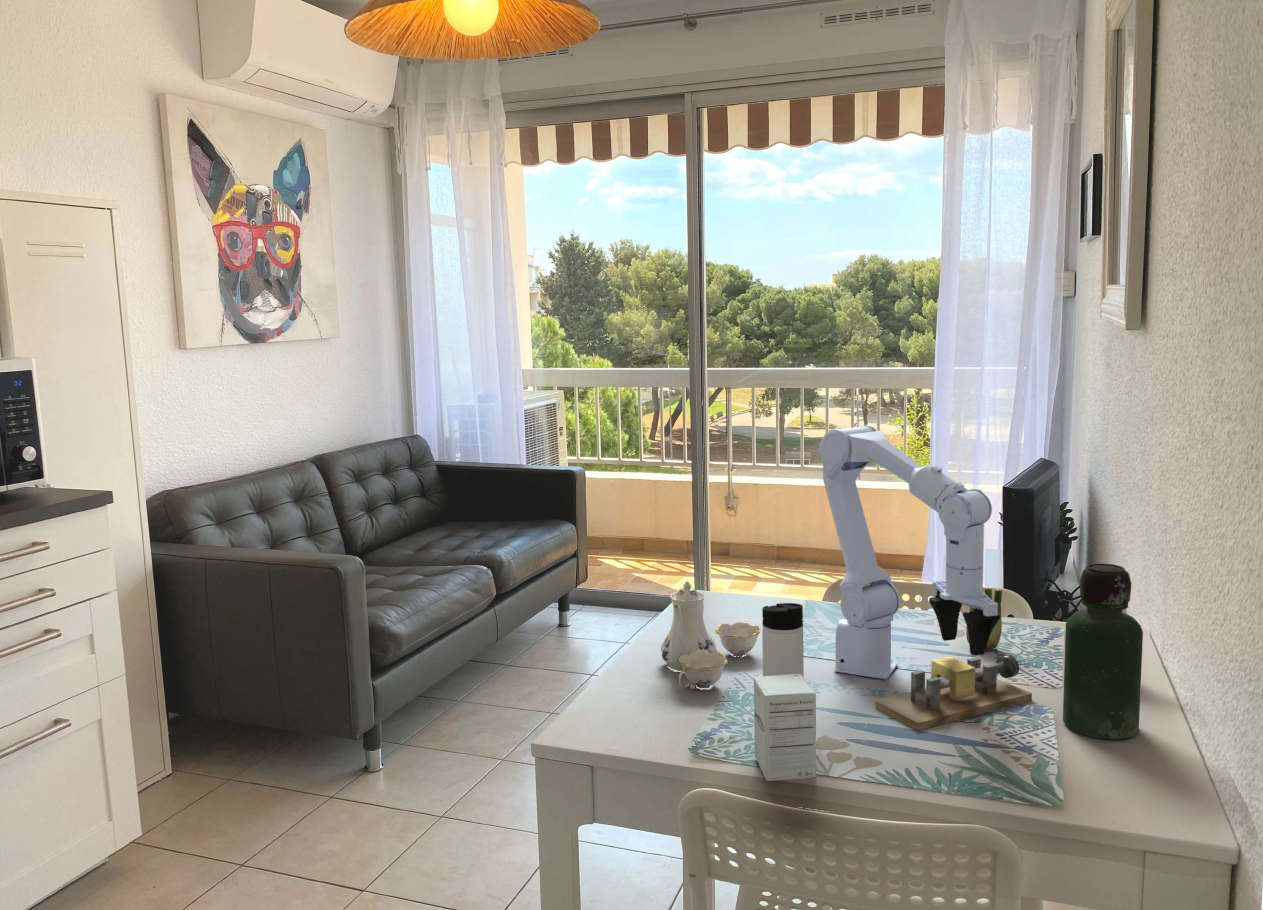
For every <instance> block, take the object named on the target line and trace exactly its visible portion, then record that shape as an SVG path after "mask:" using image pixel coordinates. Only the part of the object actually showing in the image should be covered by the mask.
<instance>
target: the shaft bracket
mask: <svg viewBox="0 0 1263 910" xmlns="http://www.w3.org/2000/svg"><path fill="white" fill-rule="evenodd" d="M966 664H968V665H970V666H973V667H975V668H980V667H983V678H982V679H978V680H975V691H974V696H970V697H966V698H962V699H958V700H954V699H952V698H950V687H948V688H944V689H940V688H941V679H940V678H937V677H934V678H931V677H930V678H926V672H925V671H923V670H921V669H919V670H915V671H911V672H910V692H906V693H903V694H897V695H894V696H889V697H886V698H882V699H877V700H875V701H874V703H875V705H874V707H875V709H876V710H879V711H881V712H882V713H883V714H886V715H888V716H889V717H891V718H894V719H896V720H897V721H899V722H901V723H903V724H905V725H906V726H908V727H910V728H912V729H913V730H916V731H921V730H925V729H929V728H932V727H937V726H939V725H943V724H948V723H951V722H954V721H958V720H959V721H960V720H963V719H966V718H970V717H973V716H977V715H981V714H986V713H988V712H993V711H997V710H1000V709H1004V708H1008V707H1011V706H1015V705H1019V704H1023V703H1027V702H1031V701H1033V693H1032V692H1029V691H1027V690H1025V689H1023V688H1020V687H1018V686H1016V685H1013V684H1010V683H1008V682H1005V681H1003V680H1001V679H998V675H997V665H995V664H996V663H989V664H985V665H982V659H981V658H979V657H971V658H969V659H968V658H967V661H966Z"/></svg>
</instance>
